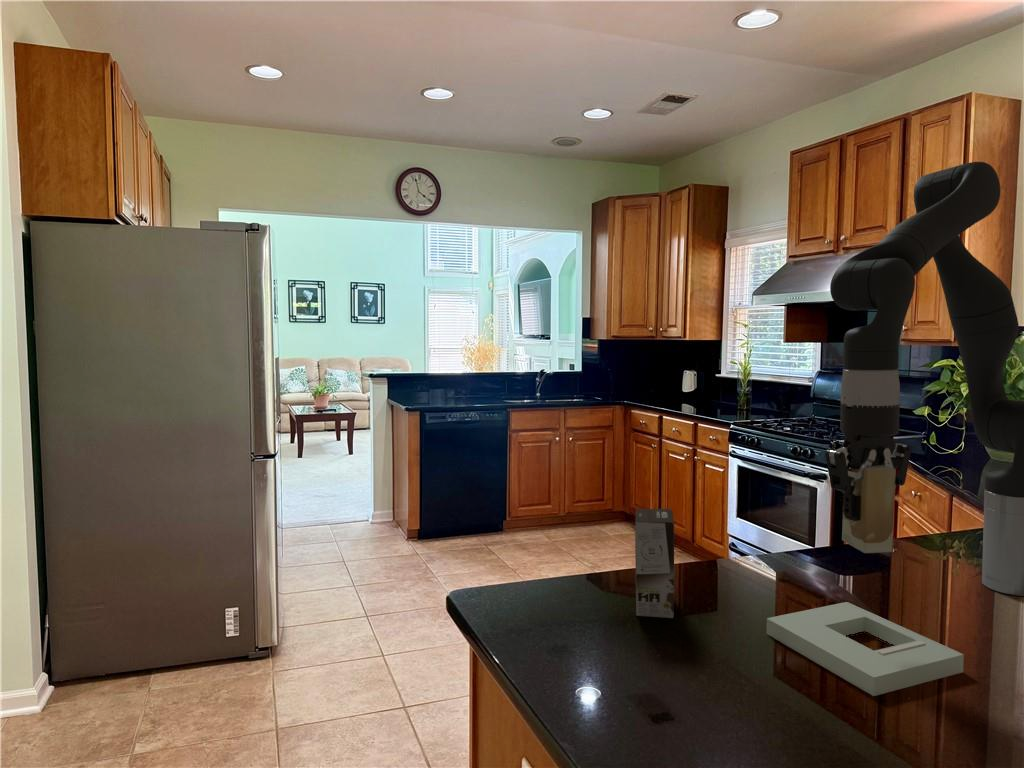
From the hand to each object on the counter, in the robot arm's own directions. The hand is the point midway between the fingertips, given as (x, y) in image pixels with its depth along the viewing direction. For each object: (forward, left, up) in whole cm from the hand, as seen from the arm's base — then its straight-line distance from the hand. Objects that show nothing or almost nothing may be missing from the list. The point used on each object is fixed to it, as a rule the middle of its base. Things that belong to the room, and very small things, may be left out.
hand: (867, 516), depth 102 cm
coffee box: (+20, -25, -20) cm, 38 cm away
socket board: (+2, +1, -20) cm, 20 cm away
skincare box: (0, 0, -5) cm, 5 cm away
